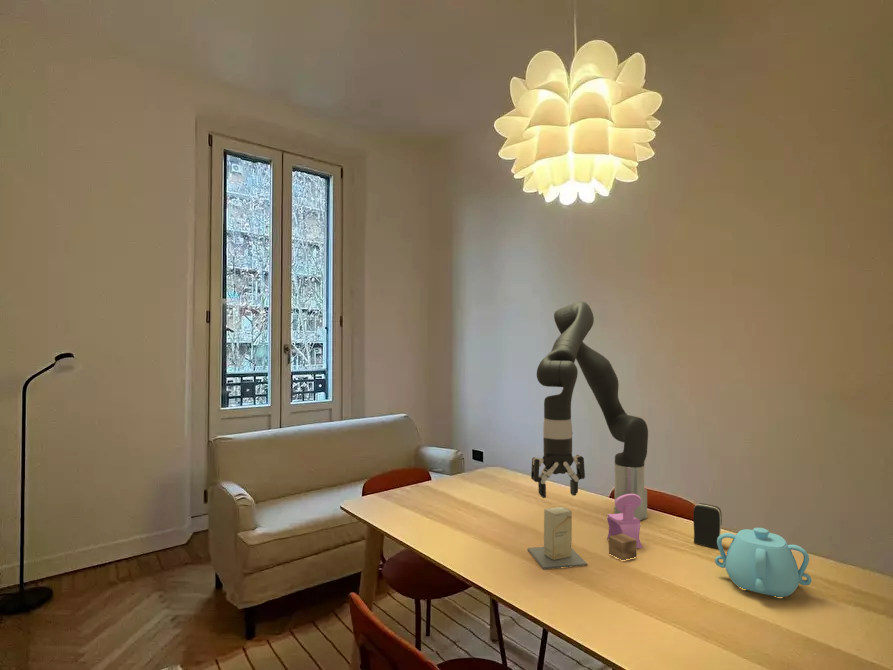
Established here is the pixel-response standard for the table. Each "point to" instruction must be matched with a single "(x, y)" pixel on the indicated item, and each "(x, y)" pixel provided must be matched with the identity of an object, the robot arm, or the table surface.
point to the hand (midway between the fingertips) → (558, 495)
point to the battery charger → (707, 524)
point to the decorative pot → (762, 562)
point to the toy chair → (625, 518)
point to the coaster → (558, 563)
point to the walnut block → (622, 546)
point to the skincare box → (557, 532)
